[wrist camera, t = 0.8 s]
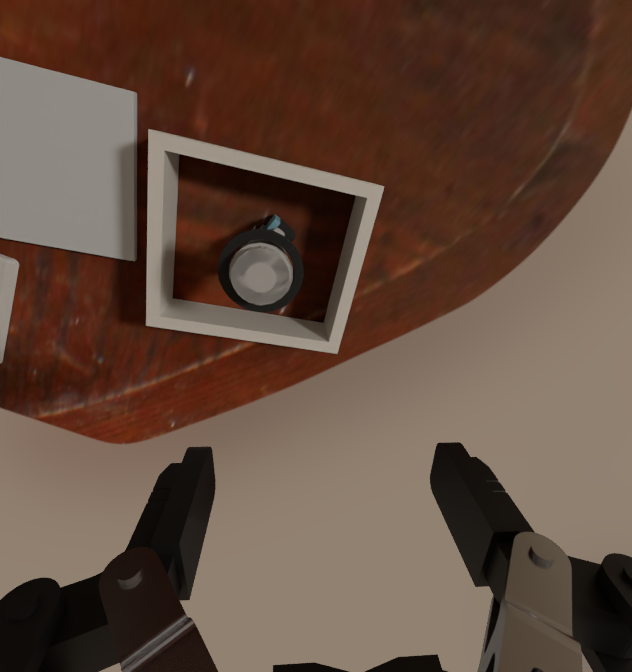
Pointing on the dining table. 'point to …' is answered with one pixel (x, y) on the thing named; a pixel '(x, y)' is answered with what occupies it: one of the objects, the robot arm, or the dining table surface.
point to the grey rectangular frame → (231, 320)
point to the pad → (67, 162)
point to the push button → (262, 267)
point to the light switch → (6, 296)
